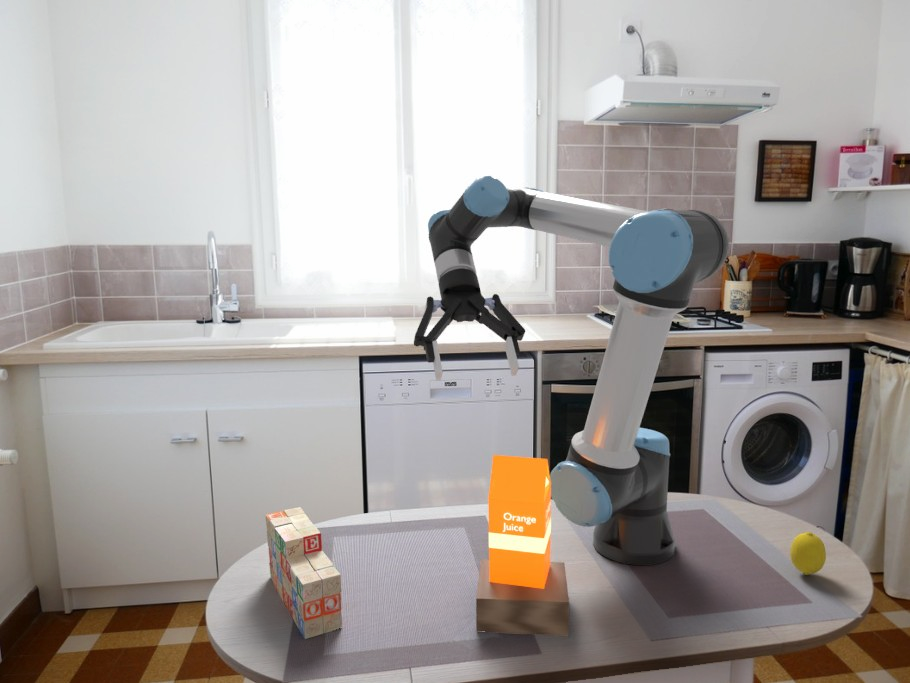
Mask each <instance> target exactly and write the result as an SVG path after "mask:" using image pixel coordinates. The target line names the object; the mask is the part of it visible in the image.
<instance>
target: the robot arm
mask: <svg viewBox="0 0 910 683" xmlns="http://www.w3.org/2000/svg"><path fill="white" fill-rule="evenodd" d="M427 223H428V224H427V228H428V240H429V243H430V247H431V248H430V249H431V252H432V256H433V257H432V258H433V262H434V266H435V273H436V278H437V283H438V289H439V294H440V299H434V298H433V296H428V297H427V298H426V302H425V310H424V313H423V315H422V317H421V320H420V322H419V325H418V327H417V330H416V332H415V334H414V339H413V345H414V346H415V347H419V346H421V347H423V350H424V351H425V355H426V361H427V362H428V364H429V363H430V364H431V363H432V364H433V369H434V375H435V380H436V381H437V382H438V381H441V380H442V376H443V366H442V362H441V357H440V356H441V355H440V350H439V345H438V341H437V340H438V339H439V338H440V336H441V335H442V333H444V331H445V330H446V328H447V327H448V326H450V324H451V323H452V322H453V321H456V323H462V322H474V321H476V322H477V323H479V324H480V325H484V326H485V327H486V328H488V329H489V330H490V331H492V332H493V333H494V334H495V335H497V336H498V337H500V338H501V339H502V340H503V341H505V343H504V345H503V346H504V349H505V353H506V354H505V355H506V358H507V362H508V367H509V371H510V375H511V376H514V377H515V376H517V373H518V370H519V368H520V366H519V362H518V358H519V355H520V352H521V349H520V346H519V343H518V342H521V341H522V340H523V338H524V336H525V334H526V329H525V327H523V325H522V324H521V323H520V322H519V321H518V320H517V319H516V317H514V315H513V314H512V313H511V311H509V310H508V308H507V307H506V306H505V305H504V304H503V303H502V301H501V297H500V296H499V294H497V293H494V294H492V297H484V296H483V295H482V292H481V287H480V282H479V278H478V275H477V269H476V265H475V261H474V257H473V253H472V248H471V246H472V244H474V242H476V240H478V238H479V237H480V236H481V235H482V234H483V233H484V232H485V231H486V229H489V228H509V227H520V228H525V229H528V230H534V231H539V232H543V233H547V234H551V235H552V234H553V235H556V236H560V237H564V238H569V239H573V240H577V241H581V242H586V243H590V244H593V245H598V246H603V247H606V248H609V249H608V264H609V267H610V268H611V270H612V272H611V273H612V276H613V277H614V280H613V281H614V282H613V286H612V291H613V293H614V295H615V296H616V298H617V300H618V306H617V308H616V312H615V317H614V319H613V324H612V327H611V330H610V332H609V333H610V334H609V338H608V342H607V345H606V348H605V352H604V354H603V355H604V356H603V360H602V363H601V367H600V369H599V374H598V377H597V381H596V385H595V388H594V393H593V396H592V399H591V403H590V407H589V410H588V414H587V418H586V421H585V423H584V424H585V425H584V428H583V430H581V431H579V432H576V433H575V434H574V435H573V436H572V438H571V442H570V445H569V449H568V453H567V456H566V459H565V460H564V461H561V462H558V463H557V465H556V466H555V467H554V468H553V469H552V470H551V472H550V473H549V476H550V482H551V500H552V501H553V502H554V503H555V507H556V508H557V510H558V511H559V512H560V513H561V515H562V516H564V517H565V519H567V520H568V521H569V522H571V523H573V524H575V525H577V526H580V527H586V528H588V527H589V528H590V527H593V532H592V534H593V535H592V545H593V547H594V549H595V550H596V551H597V552H598V553H599V554H601V555H602V556H604V557H606V558H608V559H609V560H612V561H615V562H618V563H622V564H627V565H635V566H649V565H650V566H651V565H657V564H662V563H665V562H666V561H668V560H670V559H671V558H672V557H673V556H674V554H675V551H676V550H675V547H676V539H675V536H674V531H673V528H672V525H671V522H670V518H669V515H668V510H667V509H668V507H667V506H668V489H669V475H670V474H669V472H670V458H671V453H670V441H669V438H668V437H667V436H666V435H665V434H664V433H661V432H659V431H656V430H653V429H650V428H649V429H648V428H644V427H641V424H642V419H643V418H644V413H645V411H646V407H647V404H648V400H649V397H650V395H651V390H652V388H653V385H654V384H653V383H654V381H655V378H656V375H657V371H658V368H659V365H660V362H661V358H662V354H663V353H664V349H665V345H666V343H667V338H668V335H669V333H670V329H671V326H672V322H673V319H674V316H675V315H677V314H678V313H681V312H683V311H685V310H686V309H687V308H688V306H689V303H690V299H691V296H692V292H693V290H694V286H695V284H696V283H700V282H702V281H705V280H707V279H709V278H711V277H712V276H714V275H715V274H716V273H717V272H718V271H720V269H721V268H722V267H723V265H724V264H725V262H726V260H727V257H728V254H729V250H730V239H729V235H728V233H727V232H728V231H727V230H726V228H725V226H724V225H723V223H722V222H721V221H720V220H719V219H718V218H717V217H715V216H714V215H713V214H711V213H709V212H707V211H703V210H701V209H700V210H699V209H685V210H684V209H681V210H680V209H678V210H677V209H671V208H666V207H665V208H661V209H653V210H643V209H638V208H632V207H627V206H622V205H616V204H611V203H604V202H599V201H594V200H588V199H584V198H583V199H582V198H578V197H573V196H567V195H561V194H556V193H550V192H546V191H543V189H542V190H541V189H539V188H535V187H523V188H521V187H520V188H519V187H515V188H512V187H510V188H508V187H506V185H505V184H504V183H503V182H502V180H499V179H498V178H496V177H493V176H492V175H488V174H483V175H479V176H478V177H477V178H475V180H474V181H473V182H472V183H470V184H469V186H467V188H466V189H465V190H464V192H462V195H460V197H459V198H458V200H457V201H456V202H455V203H454V205H453V206H452V207H451V208H444V209H440V210H439V211H438V212H435V213H434V214H432V215H431V216H430V218H429V220H428V222H427ZM485 306H487V307H488V308H489V309H488V308H487V307H485ZM438 308H440V310H441V311H443V312H444V313H443V315H442V317H440V319H439V320H438V321H437V323H436V324H435V325H434V326H433V328H432V329H431V330H430V331H429V332H428V334H427V335H425V334H426V332H427V329H428V327H429V324H430V322H431V320H432V317H433V313H434V314H435V312H437V311H438ZM489 310H490V311H492V312H493V314H492V313H491V312H490V311H489ZM436 381H435V382H436Z"/></svg>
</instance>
